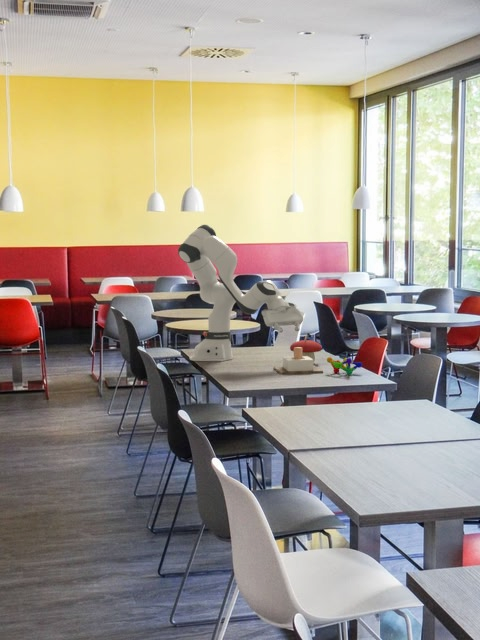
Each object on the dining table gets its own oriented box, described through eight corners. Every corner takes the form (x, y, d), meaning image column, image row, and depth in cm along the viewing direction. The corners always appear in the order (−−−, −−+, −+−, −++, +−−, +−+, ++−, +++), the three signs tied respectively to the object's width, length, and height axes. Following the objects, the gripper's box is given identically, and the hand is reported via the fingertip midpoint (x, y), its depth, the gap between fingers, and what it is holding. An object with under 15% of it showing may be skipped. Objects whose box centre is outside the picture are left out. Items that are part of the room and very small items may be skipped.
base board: (280, 374, 390) (280, 372, 390) (273, 368, 405) (273, 366, 405) (323, 372, 393) (323, 370, 393) (314, 367, 408) (314, 365, 408)
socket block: (288, 371, 392) (288, 360, 392) (282, 367, 404) (282, 356, 403) (313, 370, 394) (313, 359, 393) (307, 366, 406) (307, 356, 405)
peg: (294, 369, 397) (294, 348, 396) (292, 368, 401) (292, 347, 400) (303, 369, 397) (303, 348, 396) (301, 368, 401) (301, 347, 400)
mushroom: (323, 365, 414) (323, 335, 413) (290, 365, 414) (290, 335, 413) (320, 361, 430) (320, 331, 428) (289, 361, 430) (289, 331, 429)
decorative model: (342, 361, 400) (365, 356, 389) (342, 380, 398) (366, 375, 386) (322, 357, 392) (345, 352, 381) (322, 376, 390) (345, 371, 379)
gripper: (262, 305, 405) (273, 328, 398) (298, 303, 416) (309, 325, 408) (257, 314, 410) (268, 336, 402) (293, 312, 420) (304, 333, 412)
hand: (289, 331), depth 405 cm, fingers open, 8 cm apart
